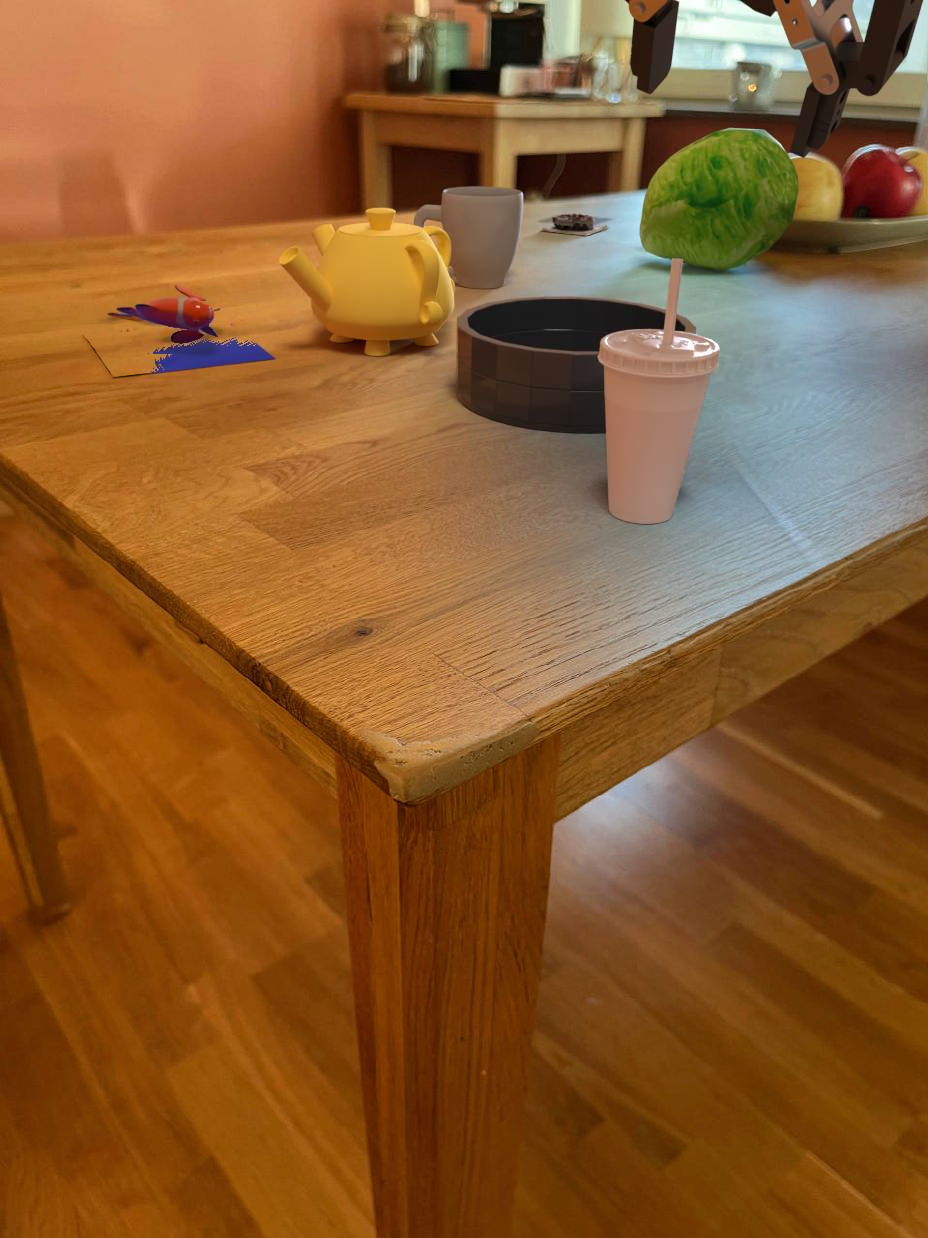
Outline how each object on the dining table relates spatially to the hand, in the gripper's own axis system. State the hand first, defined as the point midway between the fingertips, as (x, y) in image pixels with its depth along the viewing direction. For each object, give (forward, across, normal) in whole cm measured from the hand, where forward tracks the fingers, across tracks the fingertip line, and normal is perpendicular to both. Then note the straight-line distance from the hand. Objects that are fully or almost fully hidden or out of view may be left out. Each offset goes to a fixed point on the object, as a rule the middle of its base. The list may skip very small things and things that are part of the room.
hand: (727, 112), depth 48 cm
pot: (+28, +8, +1) cm, 29 cm away
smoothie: (+15, -5, +14) cm, 21 cm away
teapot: (+35, +29, +1) cm, 46 cm away
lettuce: (+60, +17, -44) cm, 77 cm away
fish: (+32, +42, +13) cm, 54 cm away
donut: (+75, +42, -53) cm, 101 cm away
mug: (+51, +35, -20) cm, 65 cm away
